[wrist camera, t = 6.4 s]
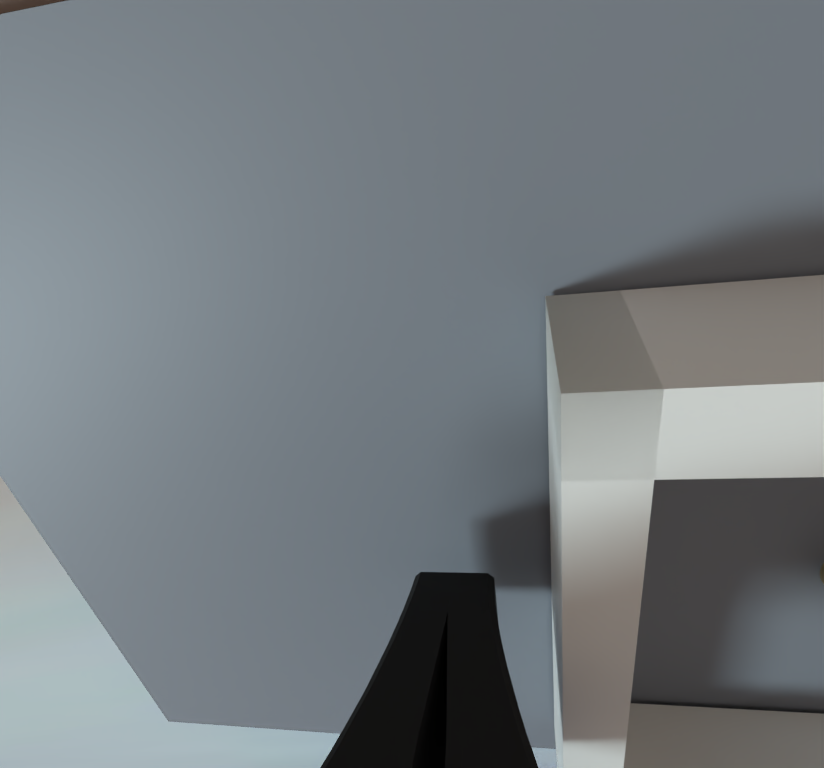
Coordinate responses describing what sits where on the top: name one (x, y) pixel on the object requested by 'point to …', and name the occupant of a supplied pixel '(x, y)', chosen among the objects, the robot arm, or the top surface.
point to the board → (385, 324)
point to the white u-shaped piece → (666, 460)
